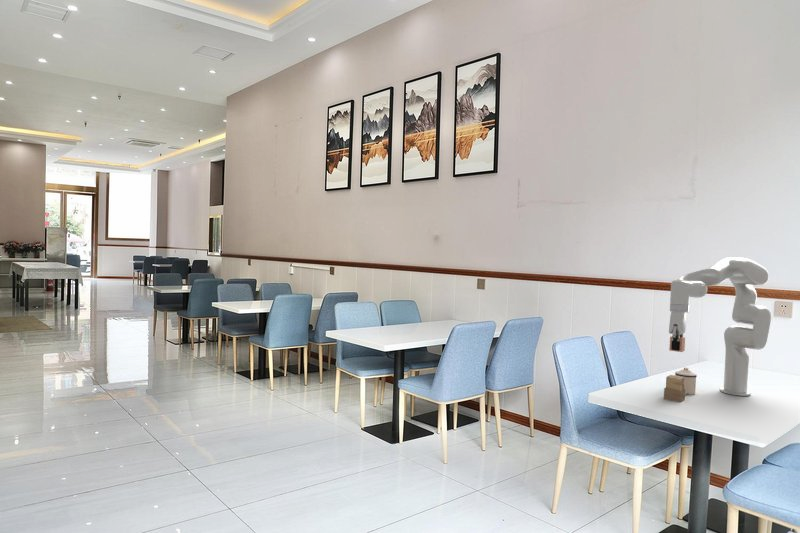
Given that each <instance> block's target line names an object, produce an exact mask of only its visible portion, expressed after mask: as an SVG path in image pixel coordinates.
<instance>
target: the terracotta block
mask: <svg viewBox="0 0 800 533" xmlns="http://www.w3.org/2000/svg"><path fill="white" fill-rule="evenodd" d="M679 342H680V350H679V351H677V350H672V349H671V346H672V336H670V337H669V347H668V348H669V350H668V351H670V352H678V353H682V352H683V353H684V352H685V350H686V349H685V346H686V337H685V336H683V337H680V339H679Z"/></svg>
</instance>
